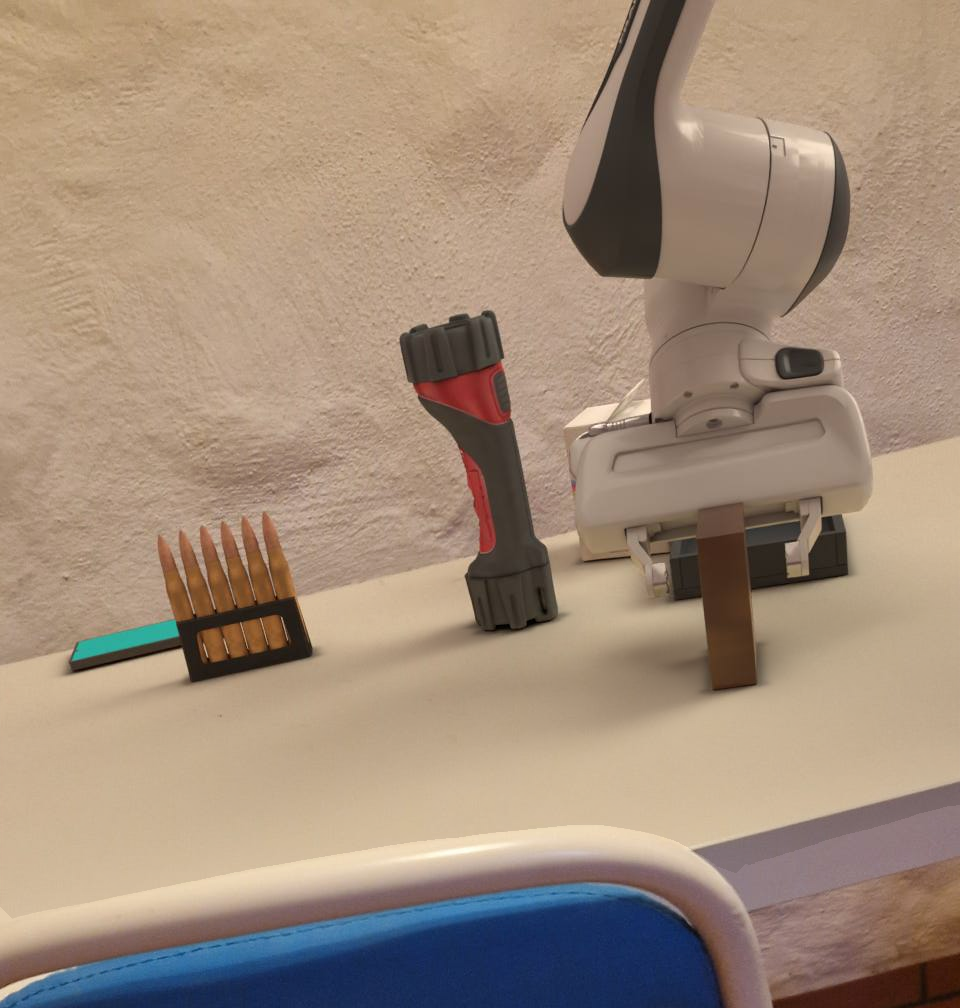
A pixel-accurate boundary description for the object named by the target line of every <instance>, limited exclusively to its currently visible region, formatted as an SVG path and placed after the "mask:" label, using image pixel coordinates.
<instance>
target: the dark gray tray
mask: <svg viewBox="0 0 960 1008" xmlns="http://www.w3.org/2000/svg"><path fill="white" fill-rule="evenodd" d="M821 524H822V530H821V532H820V534H819V535H818V537H817V539H816V541H815V543H814V545H813V547H812V549H811V550H810V552H809V553H808V561H809V575H805V576H798V577H790V578H787V568H786V567H787V566H786V555H785V543H791V542H796V541H797V540H798V538H799V536H800V533H801V526H800V521H795V522H789V523H783V524H777V525H770V526H764V527H758V528H752V529H746V539H747V551H748V562H749V573H750V584H751V590H752V589H758V588H764V587H771V586H778V585H784V584H793V583H797V582H804V581H805V582H807V581H812V580H819V579H825V578H831V577H833V578H834V577H839V576H845V575H849V562H848V561H849V559H848V558H849V557H848V542H847V541H848V537H847V530H846V525H845V523H844V518H843V514H839V515H833V516H826V517H821ZM669 553H670V554H669V567H670V575H671V576H670V577H671V584H672V594H673V600H674V601H678V600H685V599H693V598H698V597H702V592H701V582H700V573H699V564H698V554H697V545H696V537H695V538H689V539H683V540H676V541H672V546H671V551H670V552H669ZM801 575H802V574H801Z"/></svg>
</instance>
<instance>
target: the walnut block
mask: <svg viewBox="0 0 960 1008" xmlns="http://www.w3.org/2000/svg"><path fill="white" fill-rule="evenodd" d="M696 545H697V554H698V564H699V573H700V582H701V592H702V596H701V600H702V609H703V617H704V619H703V620H704V628H705V637H706V647H707V655H708V663H709V673H710V682H711V683H710V684H711V690H712V691H715V690H723V689H730V688H737V687H745V686H751V685H752V686H753V685H757V684H758V668H757V667H758V664H757V642H756V631H755V619H754V610H753V596H752V589H751V584H750V573H749V562H748V551H747V539H746V528H745V517H744V506H743V502H741V503H735V504H729V505H722V506H716V507H710V508H704V509H699V510H698V522H697V533H696Z"/></svg>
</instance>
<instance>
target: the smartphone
mask: <svg viewBox="0 0 960 1008" xmlns="http://www.w3.org/2000/svg"><path fill="white" fill-rule="evenodd" d="M220 630H221V633H222V636H223V632H222V629H221V627H220ZM199 633H200V636H201V639H202V641H203V638H202V635H201V632H199ZM178 646H182V645H181V641H180V637H179V633H178V630H177V626H176V621H175V618H173V619H169V620H164V621H161V622H156V623H152V624H147V625H143V626H139V627H135V628H130V629H126V630H121V631H118V632H113V633H109V634H104V635H101V636H97V637H91V638H88V639H84V640H79V641H77V642H76V643H75V646H74V648H73V650H72V652H71V655H70V658H69V660H68V664H69V667H70V669H71V671H75V670H76V671H77V670H80V669H85V668H89V667H93V666H97V665H102V664H106V663H112V662H114V661H119V660H123V659H128V658H131V657H135V656H141V655H144V654H148V653H152V652H158V651H162V650H166V649H171V648H174V647H178Z"/></svg>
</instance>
